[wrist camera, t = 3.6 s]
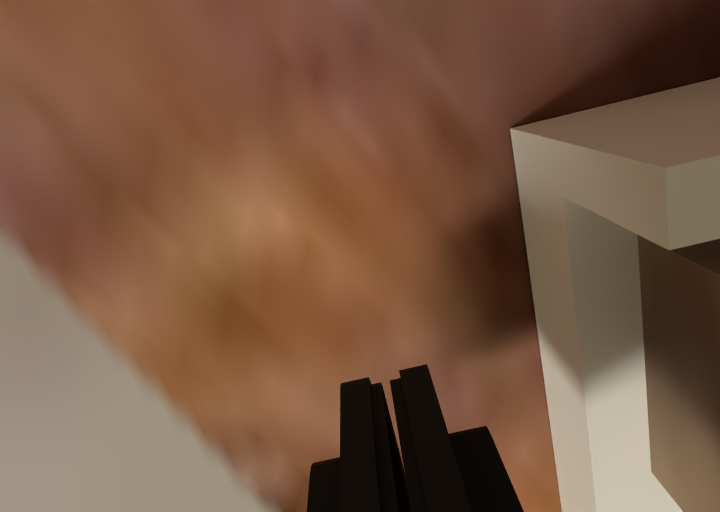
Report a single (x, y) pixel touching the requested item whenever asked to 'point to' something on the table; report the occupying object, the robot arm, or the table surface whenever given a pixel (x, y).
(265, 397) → the table surface
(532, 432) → the table surface
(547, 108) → the table surface
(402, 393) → the robot arm
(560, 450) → the trap box
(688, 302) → the block
